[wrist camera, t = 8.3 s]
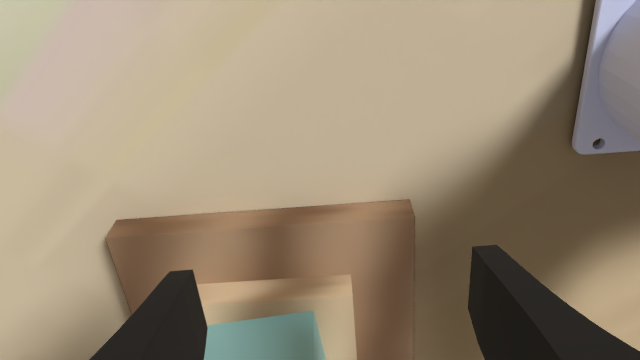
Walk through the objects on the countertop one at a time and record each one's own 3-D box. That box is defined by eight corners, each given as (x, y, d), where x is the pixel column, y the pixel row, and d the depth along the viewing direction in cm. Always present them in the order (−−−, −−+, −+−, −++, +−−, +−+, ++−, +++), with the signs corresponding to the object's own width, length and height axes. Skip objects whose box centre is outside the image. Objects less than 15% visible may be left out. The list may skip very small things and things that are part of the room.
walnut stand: (409, 199, 24) (420, 236, 22) (409, 398, 31) (417, 445, 28) (116, 220, 25) (92, 258, 22) (179, 411, 32) (166, 458, 29)
